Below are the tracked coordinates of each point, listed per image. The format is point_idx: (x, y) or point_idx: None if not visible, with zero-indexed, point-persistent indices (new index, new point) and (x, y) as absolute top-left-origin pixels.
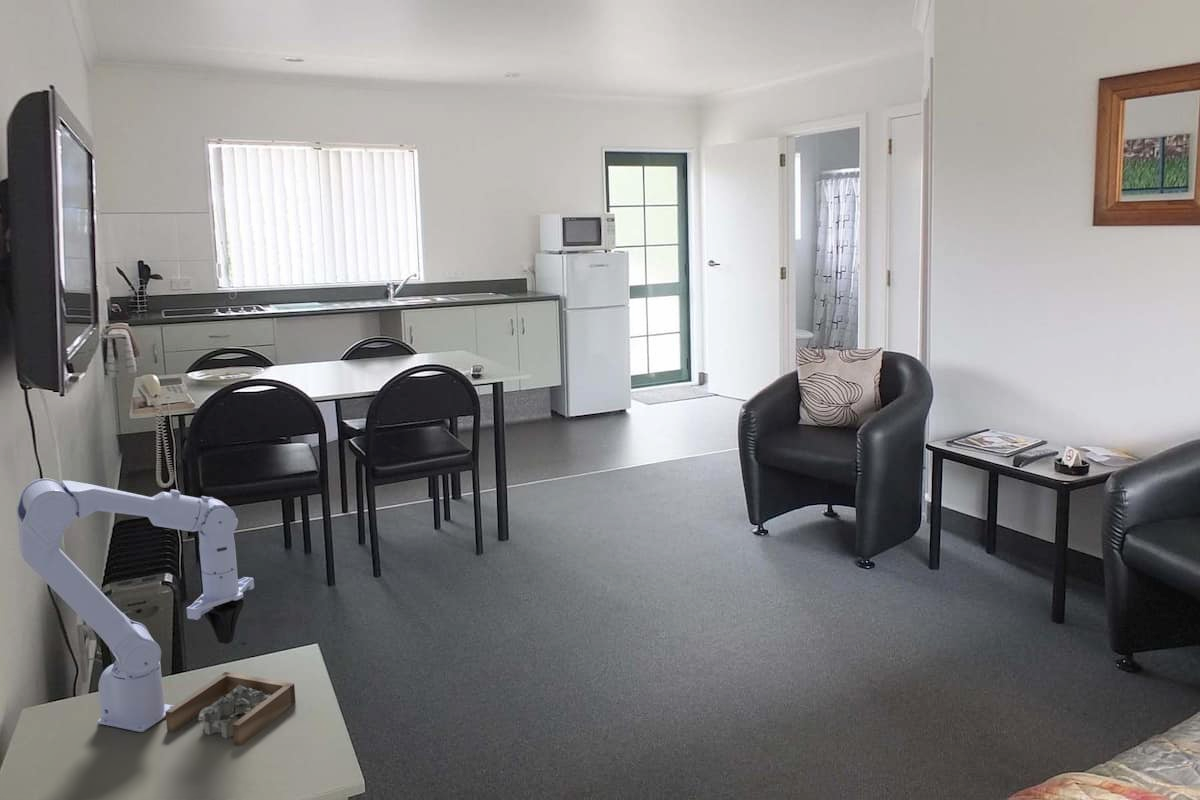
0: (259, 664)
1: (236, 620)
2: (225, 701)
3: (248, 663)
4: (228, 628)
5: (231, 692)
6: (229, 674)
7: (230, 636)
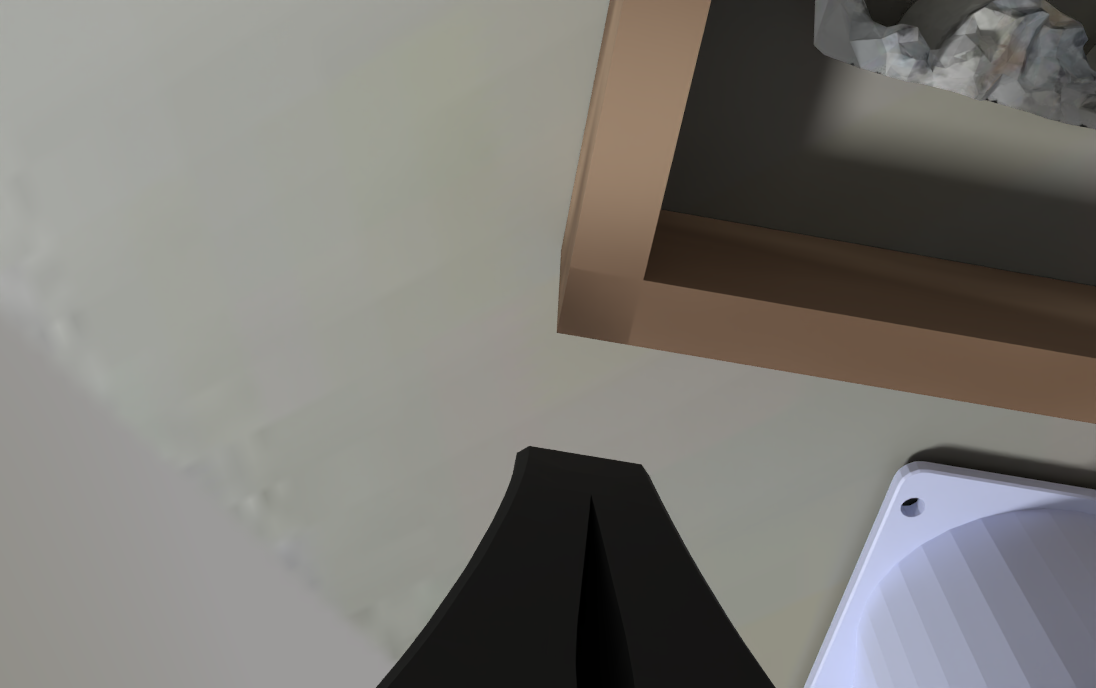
0: (54, 205)
1: (428, 663)
2: (1074, 47)
3: (76, 308)
4: (706, 647)
5: (927, 65)
6: (606, 265)
7: (610, 508)
